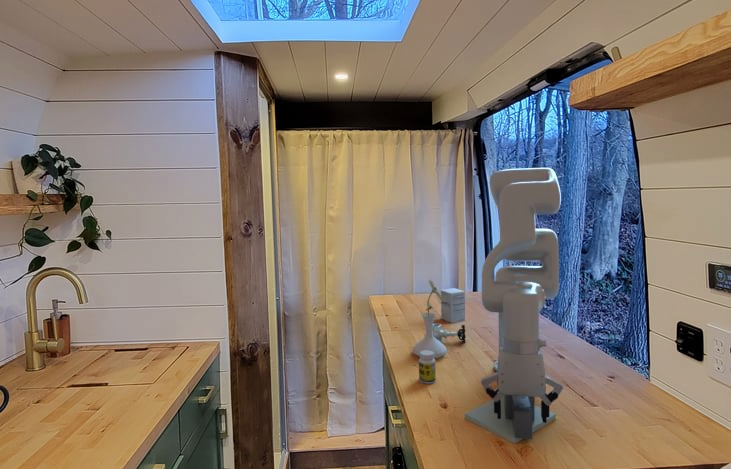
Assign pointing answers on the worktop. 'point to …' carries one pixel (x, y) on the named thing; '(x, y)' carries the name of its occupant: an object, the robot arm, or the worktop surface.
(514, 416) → the link
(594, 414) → the worktop surface
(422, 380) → the supplement bottle
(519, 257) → the robot arm
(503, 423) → the board
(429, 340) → the flower in vase
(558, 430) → the worktop surface
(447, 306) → the supplement box
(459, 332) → the valve
